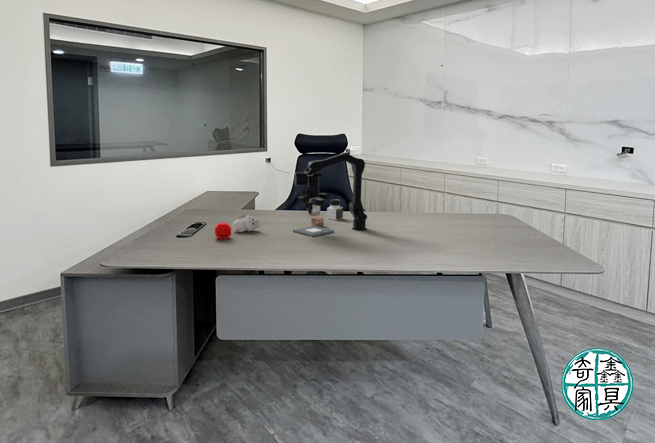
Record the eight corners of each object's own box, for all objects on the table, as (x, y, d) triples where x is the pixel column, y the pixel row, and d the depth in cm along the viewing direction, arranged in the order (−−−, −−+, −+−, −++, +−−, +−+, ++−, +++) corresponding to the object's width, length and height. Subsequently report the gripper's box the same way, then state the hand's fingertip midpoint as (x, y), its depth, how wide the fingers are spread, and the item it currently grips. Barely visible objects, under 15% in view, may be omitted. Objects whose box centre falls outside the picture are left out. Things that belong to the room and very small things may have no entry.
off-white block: (320, 215, 269) (320, 206, 268) (313, 216, 266) (313, 207, 265) (313, 213, 273) (313, 205, 272) (307, 215, 270) (307, 206, 269)
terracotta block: (323, 226, 287) (323, 217, 285) (317, 227, 283) (317, 218, 282) (317, 224, 290) (317, 216, 289) (311, 226, 287) (311, 217, 286)
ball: (215, 240, 252) (215, 225, 250) (214, 236, 259) (214, 222, 258) (231, 239, 254) (231, 225, 252) (230, 235, 261) (229, 221, 260)
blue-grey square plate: (334, 232, 271) (334, 230, 271) (312, 237, 260) (312, 234, 260) (314, 227, 282) (314, 225, 282) (292, 231, 272) (292, 229, 271)
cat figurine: (230, 215, 269) (258, 211, 270) (232, 219, 276) (259, 216, 278) (232, 231, 266) (260, 227, 267) (234, 236, 273) (261, 232, 275)
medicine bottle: (336, 220, 302) (336, 201, 300) (326, 218, 306) (327, 199, 304) (343, 218, 308) (343, 199, 305) (333, 217, 312) (333, 198, 309)
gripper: (316, 181, 278) (316, 209, 281) (290, 184, 265) (290, 213, 269) (330, 183, 270) (330, 212, 273) (304, 187, 258) (304, 216, 261)
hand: (313, 213), depth 269 cm, fingers closed on off-white block, 5 cm apart
